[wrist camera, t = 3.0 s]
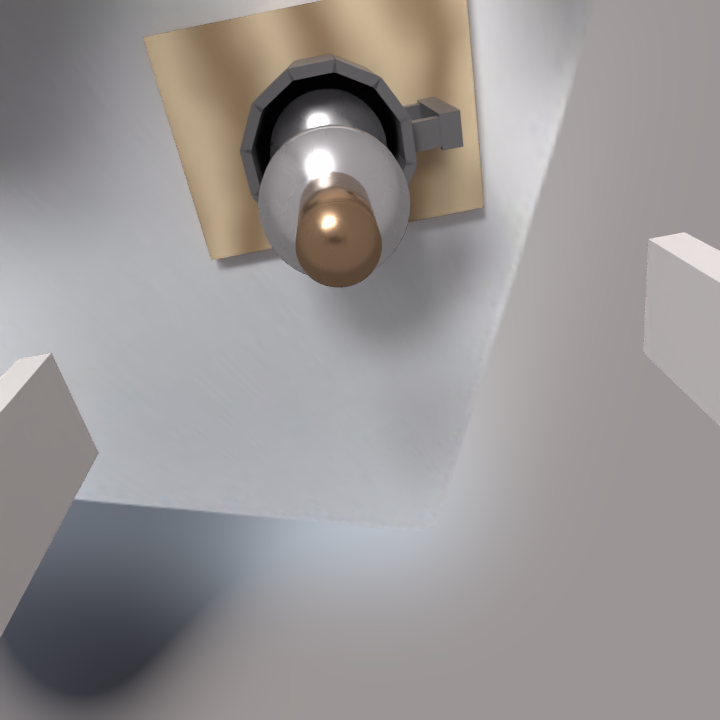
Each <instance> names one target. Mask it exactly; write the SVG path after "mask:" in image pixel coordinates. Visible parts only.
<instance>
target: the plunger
mask: <svg viewBox="0 0 720 720" xmlns="http://www.w3.org/2000/svg"><path fill="white" fill-rule="evenodd" d="M270 156H271V160H270V162H269V164H268V166H267V168H266V171H265V173H264V176H263V179H262V182H261V185H260V190H259V199H258V209H259V217H260V222H261V225H262V229H263V232H264V234H265V236H266V238H267V240H268V242H269V243H270V245H271V246H272V248H273V249H274V251H275V252H276V253H277V254H278V255H279V257H281V258H282V259H283V260H284V261H285V262H286V263H287V264H289V265H290V266H291V267H293V268H294V269H296V270H298V271H300V272H302V273H304V274H306V275H308V276H310V277H311V278H312V279H313V280H315V281H317V282H318V283H320V284H323V285H326V286H330V287H347V286H351V285H354V284H357V283H359V282H361V281H362V280H364V279H365V278H367V277H368V276H369V275H370V274H371V273H372V271H373V270H374V269H375V268H376V267H378V266H379V265H380V264H382V263H383V262H384V261H385V260H386V259H387V258H388V257H389V256H390V255H391V254H392V253H393V252H394V250H395V249H396V248H397V246H398V245H399V243H400V241H401V240H402V237H403V235H404V233H405V231H406V227H407V224H408V220H409V215H410V193H409V189H408V184H407V181H406V178H405V175H404V173H403V171H402V169H401V167H400V165H399V164H398V162H397V160H396V159H395V158H394V156H393V155H392V153H391V152H390V151H389V150H388V149H387V142H386V137H385V133H384V130H383V127H382V125H381V123H380V121H379V119H378V117H377V116H376V114H375V113H374V112H373V110H372V109H371V108H370V107H369V106H368V105H367V104H366V103H365V102H364V101H363V100H361V99H360V98H358V97H357V96H355V95H353V94H351V93H349V92H347V91H343V90H340V89H334V88H322V89H315V90H312V91H309V92H306V93H304V94H302V95H300V96H299V97H297V98H295V99H294V100H293V101H292V102H291V103H289V104H288V106H287V107H286V108H285V109H284V110H283V112H282V113H281V114H280V116H279V118H278V120H277V122H276V124H275V126H274V129H273V132H272V137H271V143H270Z"/></svg>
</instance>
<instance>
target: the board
mask: <svg viewBox="0 0 720 720" xmlns="http://www.w3.org/2000/svg"><path fill="white" fill-rule="evenodd" d="M143 39H144V43H145V46H146V49H147V52H148V56H149V59H150V62H151V65H152V69H153V72H154V75H155V78H156V82H157V85H158V88H159V91H160V95H161V98H162V101H163V104H164V108H165V111H166V114H167V117H168V121H169V124H170V127H171V130H172V134H173V137H174V140H175V143H176V147H177V150H178V153H179V156H180V160H181V163H182V166H183V169H184V173H185V176H186V179H187V182H188V185H189V189H190V192H191V195H192V198H193V202H194V205H195V208H196V211H197V215H198V218H199V221H200V224H201V228H202V231H203V234H204V237H205V241H206V244H207V247H208V250H209V254H210V257H211V260H215V259H220V258H226V257H231V256H236V255H241V254H246V253H251V252H256V251H262V250H267V249H272V246H271V245H270V243H269V242H268V240H267V238H266V236H265V234H264V232H263V229H262V225H261V222H260V217H259V209H258V203H257V202H256V201H255V200H254V199H253V198H252V196H251V193H250V189H249V185H248V181H247V178H246V174H245V170H244V166H243V162H242V158H241V155H240V147H241V143H242V139H243V135H244V131H245V128H246V124H247V120H248V116H249V112H250V108H251V104H252V103H253V102H254V101H255V99H256V98H257V97H258V96H259V95H260V94H261V93H262V92H263V91H264V90H265V89H266V88H267V87H268V86H269V85H270V84H271V83H272V82H273V81H274V80H275V79H276V78H277V77H278V76H279V75H280V74H281V73H282V72H283V71H284V70H285V69H286V68H287V67H288V66H289V65H290V64H291V63H292V62H293V61H295V60H300V59H304V58H309V57H314V56H319V55H324V54H329V53H330V54H334V55H336V56H339V57H342V58H344V59H347V60H349V61H352V62H354V63H357V64H359V65H362V66H364V67H366V68H368V69H369V70H371V71H372V72H374V73H375V74H377V75H378V76H380V77H381V78H382V79H383V80H384V82H385V83H386V84H387V86H388V87H389V88H390V90H391V91H392V92H393V94H394V95H395V96H396V98H397V99H398V100H399V102H400V103H401V104H402V106H405V105H410V104H415V103H417V100H419V99H424V98H429V97H436V98H438V99H440V100H442V101H444V102H446V103H448V104H450V105H452V106H454V107H455V108H457V109H459V110H460V114H461V125H462V135H463V146H464V147H459V148H454V149H449V150H442V149H441V148H440V147H439V148H434V149H429V150H424V151H419V152H416V160H417V164H416V165H417V166H416V168H415V171H414V174H413V176H412V179H411V181H410V184H409V187H408V189H409V193H410V215H409V220H408V222H411V221H416V220H421V219H426V218H432V217H437V216H442V215H447V214H452V213H457V212H462V211H468V210H473V209H478V208H483V207H484V203H483V191H482V178H481V166H480V154H479V142H478V130H477V118H476V106H475V94H474V82H473V70H472V58H471V46H470V34H469V22H468V9H467V0H322V1H317V2H312V3H307V4H302V5H298V6H293V7H288V8H283V9H278V10H273V11H268V12H263V13H259V14H254V15H249V16H244V17H239V18H234V19H229V20H224V21H220V22H215V23H210V24H205V25H200V26H195V27H190V28H186V29H181V30H176V31H171V32H166V33H161V34H156V35H151V36H147V37H143Z"/></svg>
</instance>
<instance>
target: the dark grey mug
mask: <svg viewBox="0 0 720 720" xmlns="http://www.w3.org/2000/svg"><path fill="white" fill-rule="evenodd" d="M322 88H334V89H340V90H343V91H347V92H349V93H351V94H353V95H355V96H357V97H358V98H360V99H361V100H363V101H364V102H365V103H366V104H367V105H368V106H369V107H370V108H371V109H372V110H373V112H374V113H375V114H376V116H377V117H378V119H379V121H380V123H381V125H382V127H383V130H384V133H385V137H386V142H387V149H388V150H389V151H390V152H391V153H392V155H393V156H394V158H395V159H396V160H397V162H398V164H399V165H400V167H401V169H402V171H403V173H404V175H405V178H406V181H407V184H408V187H409V184H410V181H411V179H412V176H413V174H414V171H415V168H416V166H417V165H416V164H417V160H416V152H419V151H424V150H429V149H434V148H439V147H440V148H441V149H442V150H449V149H454V148H459V147H464V146H463V135H462V125H461V114H460V110H459V109H457V108H455V107H454V106H452V105H450V104H448V103H446V102H444V101H442V100H440V99H438V98H436V97H429V98H424V99H419V100H417V103H415V104H410V105H405V106H402V104H401V103H400V102H399V100H398V99H397V98H396V96H395V95H394V94H393V92H392V91H391V90H390V88H389V87H388V86H387V84H386V83H385V82H384V80H383V79H382V78H381V77H380V76H378V75H377V74H375V73H374V72H372V71H371V70H369V69H368V68H366V67H364V66H362V65H359V64H357V63H354V62H352V61H349V60H347V59H344V58H342V57H339V56H336V55H334V54H330V53H329V54H324V55H319V56H314V57H309V58H304V59H300V60H295V61H293V62H292V63H291V64H290V65H289V66H288V67H287V68H286V69H285V70H284V71H283V72H282V73H281V74H280V75H279V76H278V77H277V78H276V79H275V80H274V81H273V82H272V83H271V84H270V85H269V86H268V87H267V88H266V89H265V90H264V91H263V92H262V93H261V94H260V95H259V96H258V97H257V98H256V99H255V101H254V102H253V103H252V104H251V108H250V112H249V116H248V120H247V124H246V128H245V131H244V135H243V139H242V143H241V147H240V155H241V158H242V162H243V166H244V170H245V174H246V178H247V181H248V185H249V189H250V193H251V196H252V198H253V199H254V200H255V201H256V202H257V203H258V199H259V190H260V185H261V182H262V179H263V176H264V173H265V171H266V168H267V166H268V164H269V162H270V160H271V156H270V143H271V137H272V132H273V129H274V126H275V124H276V122H277V120H278V118H279V116H280V114H281V113H282V112H283V110H284V109H285V108H286V107H287V106H288V104H289V103H291V102H292V101H293V100H294V99H295V98H297V97H299V96H300V95H302V94H304V93H306V92H309V91H312V90H315V89H322Z"/></svg>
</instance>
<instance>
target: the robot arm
mask: <svg viewBox="0 0 720 720" xmlns="http://www.w3.org/2000/svg"><path fill="white" fill-rule="evenodd" d="M644 353H645V354H646V355H647V356H648V357H649V358H650V359H651V360H652V361H653V362H654V363H655V364H656V365H657V366H658V367H659V368H660V369H661V370H662V371H663V372H664V373H665V374H666V375H667V376H669V378H670V379H671V380H673V381H674V382H675V383H676V384H677V385H678V386H679V387H680V388H681V389H682V390H683V391H684V392H685V393H686V394H687V395H688V396H689V397H690V398H691V399H692V400H693V401H694V402H695V403H696V404H698V406H699V407H700V408H701V409H702V410H704V411H705V412H706V413H707V414H708V415H709V416H710V417H711V418H712V419H713V420H714V421H715V422H716V423H717V424H718V425H719V426H720V251H719V250H717V249H715V248H713V247H711V246H709V245H707V244H706V243H704V242H702V241H700V240H698V239H696V238H694V237H692V236H690V235H689V234H687V233H678V234H673V235H668V236H663V237H657V238H652V239H649V240H648V263H647V285H646V308H645V331H644ZM97 455H98V451H97V449H96V446H95V444H94V442H93V440H92V438H91V436H90V434H89V432H88V429H87V427H86V425H85V423H84V421H83V419H82V417H81V415H80V413H79V410H78V408H77V406H76V404H75V402H74V400H73V398H72V396H71V393H70V391H69V389H68V387H67V385H66V383H65V381H64V379H63V376H62V374H61V372H60V370H59V368H58V366H57V364H56V362H55V359H54V357H53V355H52V353H47V354H42V355H37V356H31V357H26V358H21V359H17V360H16V361H15V362H14V363H13V365H12V366H11V367H10V368H9V369H8V370H7V371H6V372H5V373H4V374H3V375H2V376H1V377H0V637H1V635H2V633H3V631H4V629H5V627H6V626H7V624H8V622H9V620H10V618H11V616H12V614H13V613H14V611H15V609H16V607H17V605H18V603H19V601H20V599H21V597H22V596H23V594H24V592H25V590H26V588H27V586H28V584H29V582H30V580H31V579H32V577H33V575H34V573H35V571H36V569H37V567H38V566H39V564H40V562H41V560H42V558H43V556H44V554H45V552H46V551H47V549H48V547H49V545H50V543H51V541H52V539H53V537H54V536H55V534H56V532H57V530H58V528H59V526H60V524H61V522H62V521H63V519H64V517H65V515H66V513H67V511H68V509H69V507H70V505H71V504H72V502H73V500H74V498H75V496H76V494H77V492H78V491H79V489H80V487H81V485H82V483H83V481H84V479H85V477H86V475H87V474H88V472H89V470H90V468H91V466H92V464H93V462H94V460H95V459H96V457H97Z"/></svg>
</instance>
